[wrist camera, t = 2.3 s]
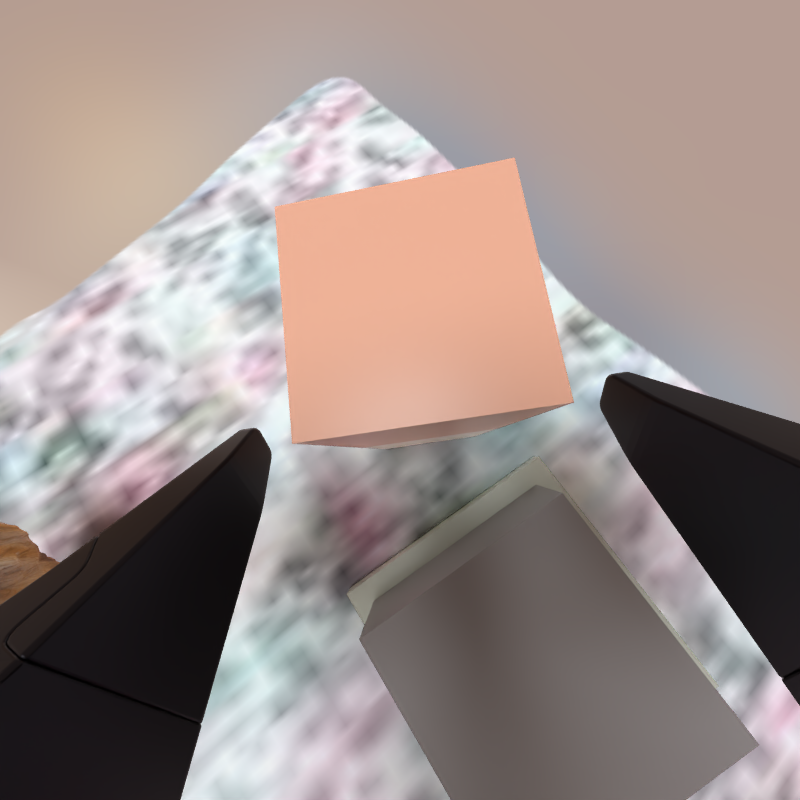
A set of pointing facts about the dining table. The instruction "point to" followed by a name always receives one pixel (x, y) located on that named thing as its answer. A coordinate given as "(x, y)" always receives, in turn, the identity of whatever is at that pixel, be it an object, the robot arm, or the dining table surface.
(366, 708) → the dining table surface
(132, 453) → the dining table surface
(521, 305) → the brick column
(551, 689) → the base brick
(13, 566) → the lion figurine
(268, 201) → the dining table surface
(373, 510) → the dining table surface
